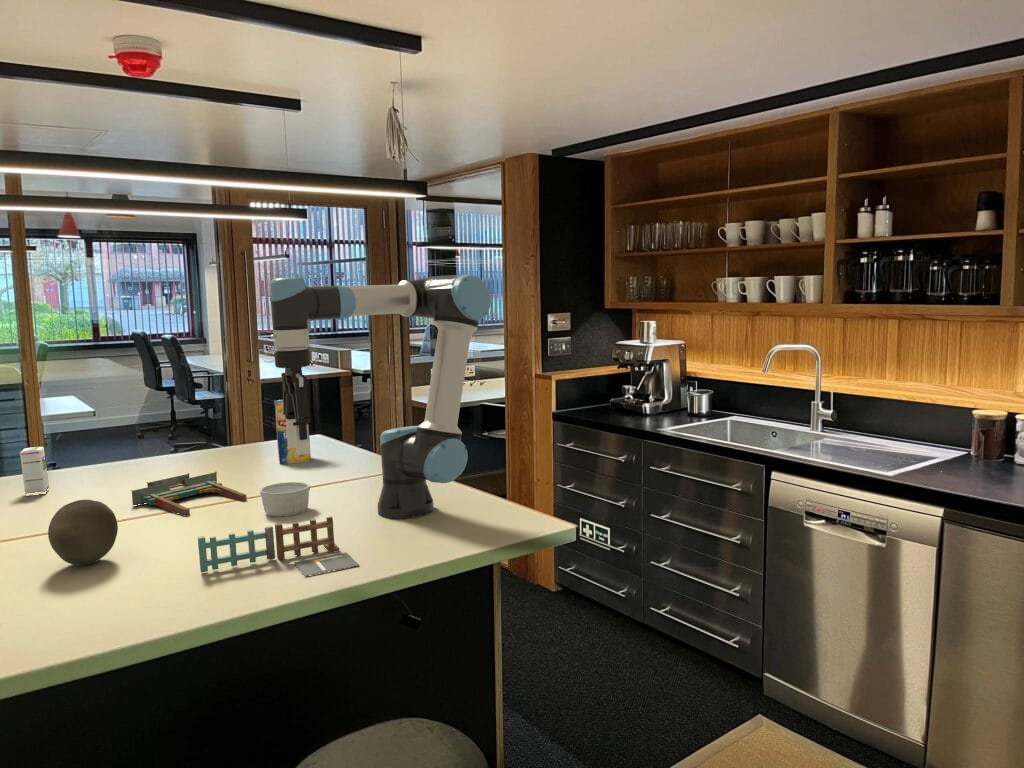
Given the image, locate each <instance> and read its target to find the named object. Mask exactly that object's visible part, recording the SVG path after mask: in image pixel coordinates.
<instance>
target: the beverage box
mask: <svg viewBox="0 0 1024 768" xmlns="http://www.w3.org/2000/svg"><path fill="white" fill-rule="evenodd" d="M273 403H274V413H275V414H274V415H275V429H276V430H275V431H276V440H277V441H276V442H277V455H278V463H279V465H285V464H294V463H295V464H296V463H306V462H311V461H312V457H311V456H312V455H311V452H310V453H309V454H302V455H297V450H296V448H288V440H287V426H286V420H288V419H286V418H285V415H284V414H283V399H279V400H277V399H276V400H275V399H274V400H273ZM301 418H304V417H301ZM309 424H310V423H308V430H309V431H310V427H309V426H310V425H309ZM309 445H310V446H311V440H310V437H309Z"/></svg>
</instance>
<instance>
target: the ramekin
mask: <svg viewBox="0 0 1024 768" xmlns="http://www.w3.org/2000/svg"><path fill="white" fill-rule="evenodd" d="M310 490H311V489H310V484H309V483H306V482H301V481H285V482H277V483H272V484H269V485H266V486H262V487H261V489H260V491H259V492H260V493H259V495H260V496H261V501H262V506H263V510H264V512H265V513H266V514H267V515H268V516H270V517H275V516H277V518H278V516H279V517H281V516H284V517H292V516H297V515H300V514H302V512H303V513H305V511H307V509H308V507H309V498H310ZM299 513H300V514H299ZM296 514H297V515H296ZM291 515H292V516H291Z"/></svg>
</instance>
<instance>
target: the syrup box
mask: <svg viewBox="0 0 1024 768" xmlns="http://www.w3.org/2000/svg"><path fill="white" fill-rule="evenodd" d="M19 455H20V461H21V472H22V478H23V487H24V493H25V494H27V493H35V492H45V491H47V489H48V488H49V489H50V486H49V485H50V484H49V478H48V468H47V461H46V455H45V447H44V446H33V447H32V446H31V447H27V448H23V449H22V450H20V451H19Z"/></svg>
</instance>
